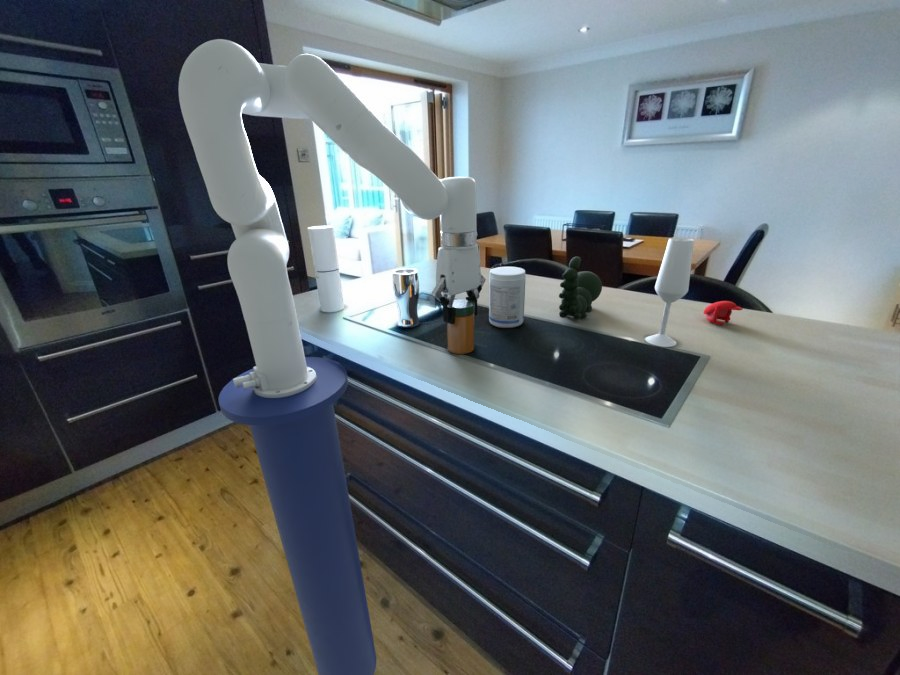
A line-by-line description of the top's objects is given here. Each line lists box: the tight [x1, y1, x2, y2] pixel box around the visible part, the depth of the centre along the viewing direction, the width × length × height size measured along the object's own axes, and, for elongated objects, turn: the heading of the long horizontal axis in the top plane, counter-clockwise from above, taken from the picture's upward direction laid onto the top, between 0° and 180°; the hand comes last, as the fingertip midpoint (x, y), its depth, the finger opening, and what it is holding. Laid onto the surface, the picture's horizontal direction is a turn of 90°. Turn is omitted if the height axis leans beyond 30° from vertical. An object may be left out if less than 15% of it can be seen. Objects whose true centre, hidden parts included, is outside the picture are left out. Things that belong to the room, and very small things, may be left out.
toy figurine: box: [558, 256, 603, 321], centre depth 109 cm, size 9×19×25 cm
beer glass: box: [392, 267, 421, 329], centre depth 105 cm, size 7×7×15 cm
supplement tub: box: [488, 266, 527, 329], centre depth 104 cm, size 10×10×15 cm
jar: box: [446, 313, 475, 355], centre depth 90 cm, size 6×6×11 cm
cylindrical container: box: [307, 225, 345, 313], centre depth 118 cm, size 7×7×25 cm
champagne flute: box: [644, 237, 695, 348], centre depth 88 cm, size 7×7×24 cm
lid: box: [452, 298, 475, 316], centre depth 88 cm, size 7×7×2 cm
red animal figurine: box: [702, 300, 743, 326], centre depth 102 cm, size 8×6×6 cm
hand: (460, 317), depth 89 cm, fingers closed on lid, 6 cm apart
